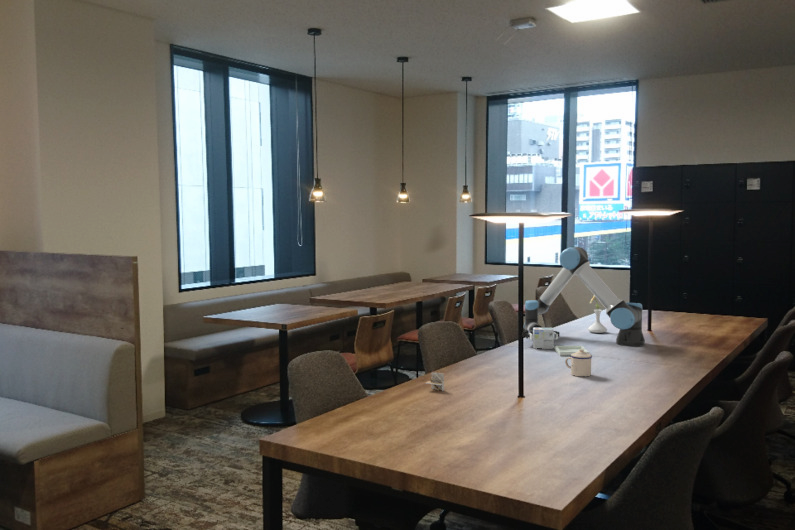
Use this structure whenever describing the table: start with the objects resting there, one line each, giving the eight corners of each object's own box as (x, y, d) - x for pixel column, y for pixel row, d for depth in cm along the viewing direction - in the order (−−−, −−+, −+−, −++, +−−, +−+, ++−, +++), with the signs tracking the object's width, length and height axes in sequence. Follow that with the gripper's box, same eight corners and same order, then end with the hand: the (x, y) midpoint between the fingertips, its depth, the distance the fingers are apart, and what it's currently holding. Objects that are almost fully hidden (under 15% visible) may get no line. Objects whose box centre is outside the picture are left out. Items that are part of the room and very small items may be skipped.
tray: (582, 349, 363) (582, 345, 362) (588, 356, 346) (589, 352, 346) (554, 349, 363) (554, 345, 363) (559, 355, 347) (559, 351, 347)
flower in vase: (591, 330, 424) (592, 290, 422) (609, 332, 417) (610, 291, 415) (584, 333, 413) (584, 292, 411) (602, 335, 406) (603, 293, 404)
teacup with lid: (594, 374, 306) (595, 348, 306) (587, 378, 299) (587, 352, 298) (569, 370, 314) (569, 345, 313) (561, 374, 306) (561, 349, 305)
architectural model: (441, 393, 277) (440, 375, 277) (425, 391, 280) (425, 373, 280) (444, 391, 280) (444, 373, 280) (429, 389, 283) (428, 371, 283)
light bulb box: (552, 346, 371) (552, 327, 370) (553, 349, 365) (554, 329, 364) (532, 346, 372) (532, 327, 372) (533, 349, 366) (533, 329, 365)
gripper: (557, 336, 387) (567, 343, 365) (513, 337, 386) (521, 344, 365) (557, 323, 386) (567, 329, 365) (513, 323, 385) (521, 330, 364)
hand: (544, 336), depth 365 cm, fingers open, 13 cm apart
